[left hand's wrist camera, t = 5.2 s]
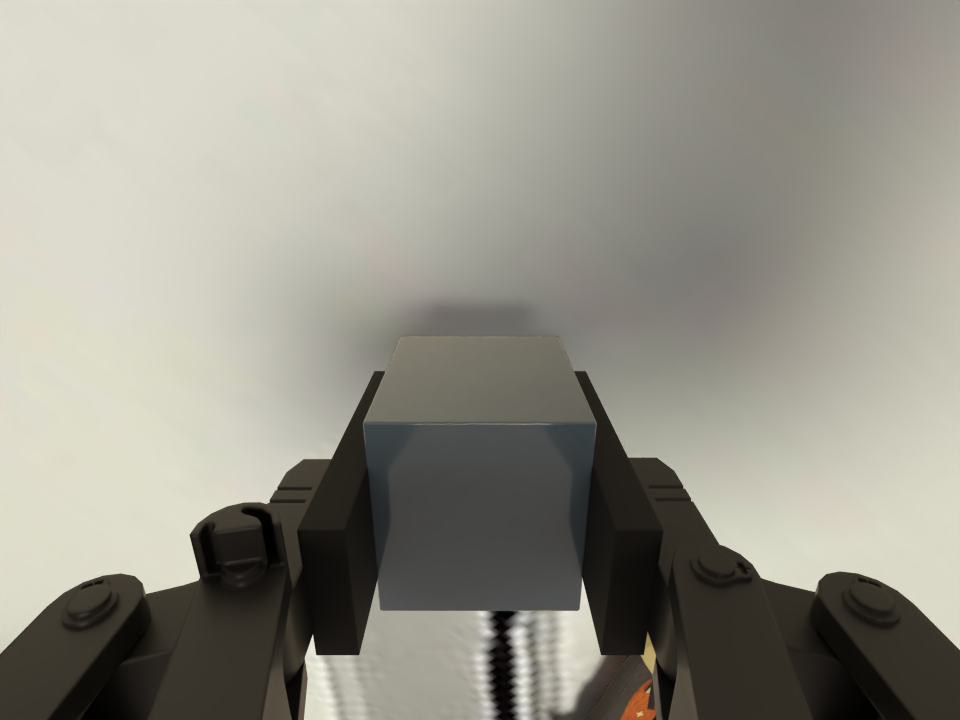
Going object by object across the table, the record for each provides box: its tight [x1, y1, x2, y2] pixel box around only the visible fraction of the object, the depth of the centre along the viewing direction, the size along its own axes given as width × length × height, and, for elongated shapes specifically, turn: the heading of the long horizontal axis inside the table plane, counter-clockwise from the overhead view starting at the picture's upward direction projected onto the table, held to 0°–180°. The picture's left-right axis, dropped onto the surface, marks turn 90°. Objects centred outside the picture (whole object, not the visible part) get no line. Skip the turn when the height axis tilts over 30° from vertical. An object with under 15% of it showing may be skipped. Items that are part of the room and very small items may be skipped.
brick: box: [363, 336, 597, 611], centre depth 13 cm, size 5×4×5 cm
